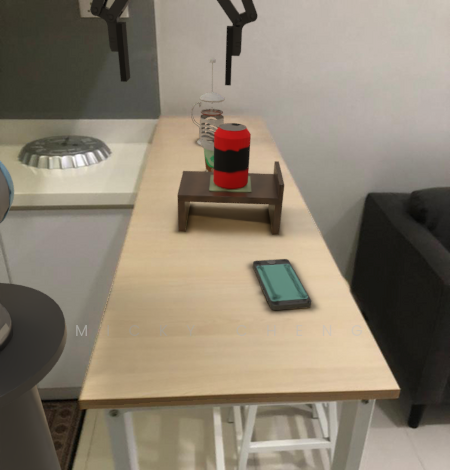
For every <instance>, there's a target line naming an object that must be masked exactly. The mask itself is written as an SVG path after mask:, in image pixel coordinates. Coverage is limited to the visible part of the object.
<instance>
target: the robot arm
mask: <svg viewBox="0 0 450 470" xmlns="http://www.w3.org/2000/svg"><path fill="white" fill-rule="evenodd" d="M131 1H132V0H113V2H112V4H111V6H110V7H109V6H107V5H108V2H109V0H92V1H91V5H90V8H89V12H90V14H91V15H92V16H95V17H98V18H100V19H102V20H104V22H106V25H107V34H108V35H107V36H108V43H109V44H108V45H109V49H110V51H111V52H113V53H115V52H117V55H118V65H119V75H120V82H123V83H126V82H128V81H129V80H130V79H131V69H130V57H129V44H128V43H129V42H128V32H127V22H126V21H120V18H121V16H122V15H123V13H124V12H125V10H126V9H127V8H128V7H129V4H130V3H131ZM216 1H217V3H218V5H219V6H220V8H221V10H223V12H224V14H225V15H226V16H227V17H228V19H229V21H230V23H232V25H226V38H225V39H226V40H225V41H226V42H225V69H224V70H225V74H224V75H225V76H224V86H232V65H233V64H232V63H233V61H232V60H233V57H240V55H241V53H242V41H243V28H244V26H246V25H248V24H250V23H253V22H254V23H255V22H256V21H257V20H258V12H257V10H256V9H257V8H256V6H255V3H254V0H240V1H241V3H242V6H243V9H244V11H243V12H239V11H238V10H237V7H236V6H235V5H234V3H233V2H232V0H216ZM14 198H15V185H14V181H13V178H12V175H11V174H10V171H9V170H8V168H7V167H6V165H5V164H4V163H3V161H2V160H0V224H2V223H3V222H4V221H5V219H6V218H7V216H8V214H9V211H10V209H11V208H12V205H13V203H14V200H15V199H14ZM12 334H13V324H12V321H11V318H10V315H9V313H8V312H7V310H6V309H5V308H4V307H3V306H2V305H1V304H0V351H2V350H3V349H4V348H5V346H6V345H7V344H8V342H9V341H10V339H11V337H12Z"/></svg>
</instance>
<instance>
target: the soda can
mask: <svg viewBox="0 0 450 470" xmlns="http://www.w3.org/2000/svg"><path fill="white" fill-rule="evenodd" d="M216 129H217V130H216V131H214V179H213V181H214V183H215V184H216V185H217V186H218V187H221V188H225V189H239V188H242V187H244V186H246V184H247V183H248V173H250V172H249V171H250V168H249V167H250V156H251V155H250V152H251V136H252V134H251V132H250V130H249V129H248V127H247V126H246V125H245V124H242V123H236V122H226V123H225V122H224V124H221V125H219V127H218V128H216Z"/></svg>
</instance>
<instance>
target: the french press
mask: <svg viewBox="0 0 450 470" xmlns="http://www.w3.org/2000/svg"><path fill="white" fill-rule="evenodd" d="M208 61H209V63H211V64H212V65H211V91H210V92H206V93H204V94H202V95H200V96H199V101H197V102H195V103H194V104H193V105H192V107H191V110H190V119H191V121H192V123H193V124H194V125H195V126H196V127H198V135H199V136H198V138H199V139H197V140H196V144H197V145H198V146H201V141H202V139H203V138H204V139H205V140H214V132H215V131H216V130H217V129H218V127H219V125H221V124H225V122H224V121H225V117H224V111H223V110H222V109H218V108H205V109H201V110H200V116H199V122H197V120H196V119H195V117H194V108H195V106H196V105H197V104H198V106H199V108H201V107H202V102H205V103H222V102H224V101H225V100H226V97H224V96H223V95H222V94H220V93H217V92H214V91H213V88H214V87H213V85H214V84H213V83H214V75H213V74H214V63H216V62H217V61H216V59H215V58H214V57H211V58H209V60H208Z"/></svg>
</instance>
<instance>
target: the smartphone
mask: <svg viewBox="0 0 450 470" xmlns="http://www.w3.org/2000/svg"><path fill="white" fill-rule="evenodd" d="M252 268H253V271H254V274H255V276H256V278H257V280H258V283H259V286H260V287H261V290H262V293H263V294H264V297H265V299H266V302H267V303H268V305H269V308H270V309H271V310H272V311H283V310H293V309H306V308H310V307H311V306H312V298H311V297H310V295H309V293H308V292H307V290H306V288H305V286H304V285H303V283H302V281H301V279H300V278H299V276H298V274H297V273H296V270H295V268H294V266H293V265H292V264H291V262H290V260H289V259H287V258H279V259H276V258H275V259H265V260H263V259H262V260H254V261H253V262H252Z"/></svg>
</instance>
